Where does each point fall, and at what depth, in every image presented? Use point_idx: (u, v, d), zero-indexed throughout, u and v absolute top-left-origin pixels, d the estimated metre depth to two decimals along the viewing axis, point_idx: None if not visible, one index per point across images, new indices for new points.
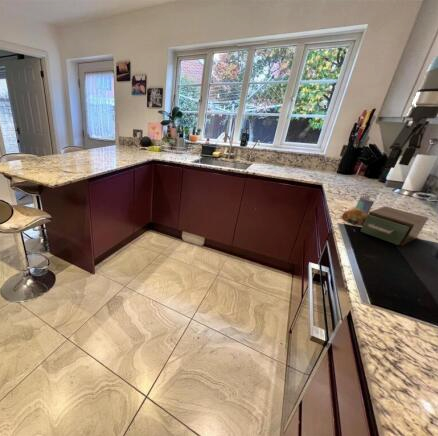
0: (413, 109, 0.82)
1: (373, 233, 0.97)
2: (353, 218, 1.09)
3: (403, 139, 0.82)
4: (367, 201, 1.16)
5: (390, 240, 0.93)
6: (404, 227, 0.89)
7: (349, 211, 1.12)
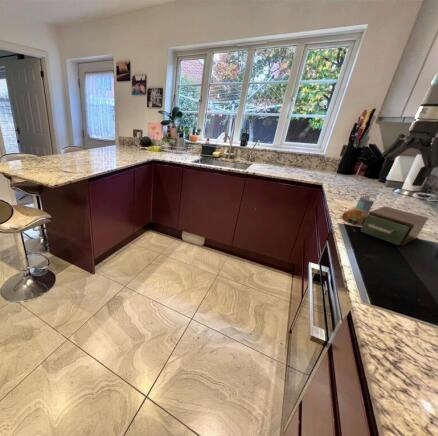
0: (431, 124, 0.77)
1: (373, 233, 0.97)
2: (353, 218, 1.09)
3: None
4: (367, 201, 1.16)
5: (390, 240, 0.93)
6: (404, 227, 0.89)
7: (349, 211, 1.12)
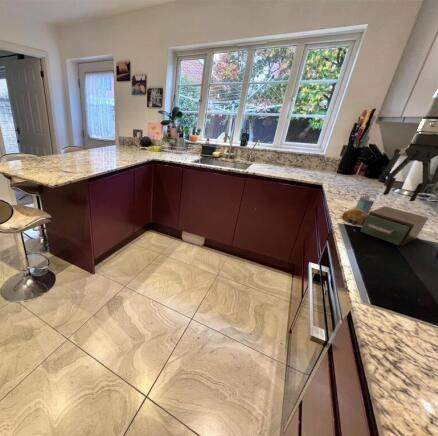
0: None
1: (373, 233, 0.97)
2: (353, 218, 1.09)
3: None
4: (367, 201, 1.16)
5: (390, 240, 0.93)
6: (404, 227, 0.89)
7: (349, 211, 1.12)
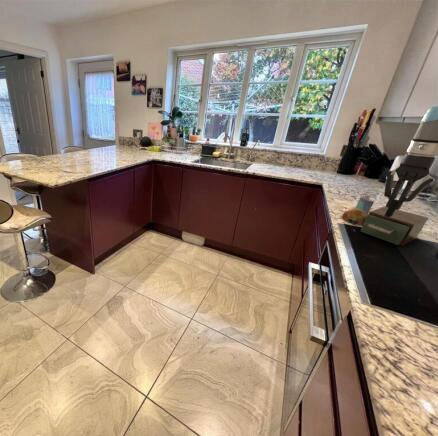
0: (430, 160, 0.78)
1: (373, 233, 0.97)
2: (353, 218, 1.09)
3: None
4: (367, 201, 1.16)
5: (390, 240, 0.93)
6: (404, 227, 0.89)
7: (349, 211, 1.12)
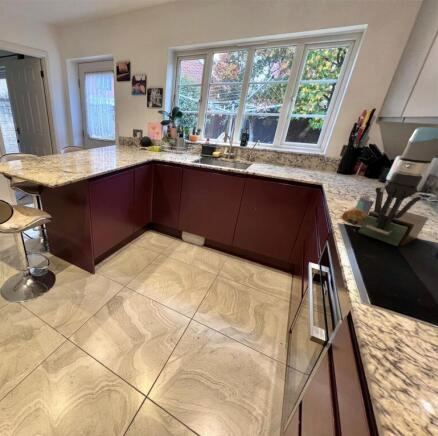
0: (417, 179, 0.80)
1: (371, 234, 0.96)
2: (353, 218, 1.09)
3: (405, 212, 0.86)
4: (367, 201, 1.16)
5: (388, 241, 0.92)
6: (402, 228, 0.88)
7: (349, 211, 1.12)
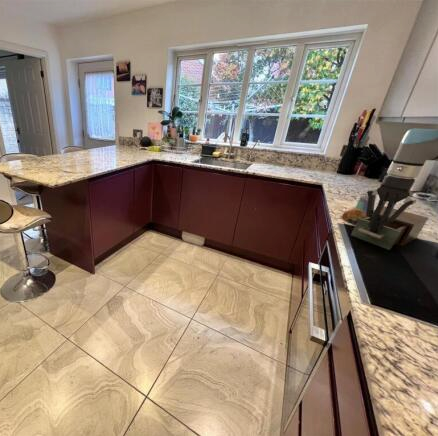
0: (409, 182, 0.77)
1: (364, 237, 0.93)
2: (353, 218, 1.09)
3: None
4: (367, 201, 1.16)
5: (381, 245, 0.89)
6: (395, 231, 0.85)
7: (349, 211, 1.12)
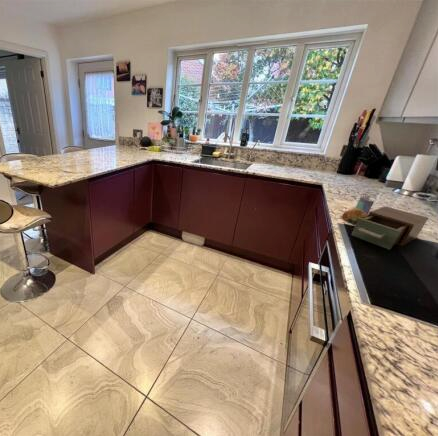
0: None
1: (364, 237, 0.94)
2: (353, 218, 1.09)
3: None
4: (367, 201, 1.16)
5: (381, 244, 0.89)
6: (395, 231, 0.85)
7: (349, 211, 1.12)
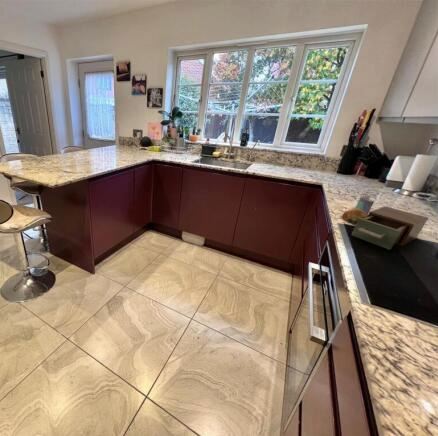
0: None
1: (364, 237, 0.94)
2: (353, 218, 1.09)
3: None
4: (367, 201, 1.16)
5: (381, 244, 0.89)
6: (395, 231, 0.85)
7: (349, 211, 1.12)
